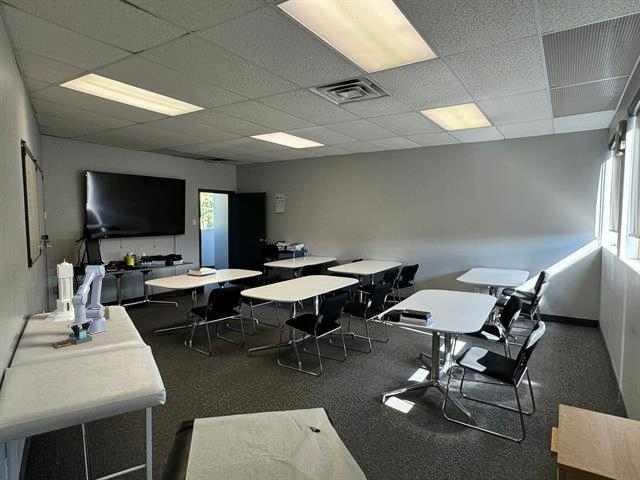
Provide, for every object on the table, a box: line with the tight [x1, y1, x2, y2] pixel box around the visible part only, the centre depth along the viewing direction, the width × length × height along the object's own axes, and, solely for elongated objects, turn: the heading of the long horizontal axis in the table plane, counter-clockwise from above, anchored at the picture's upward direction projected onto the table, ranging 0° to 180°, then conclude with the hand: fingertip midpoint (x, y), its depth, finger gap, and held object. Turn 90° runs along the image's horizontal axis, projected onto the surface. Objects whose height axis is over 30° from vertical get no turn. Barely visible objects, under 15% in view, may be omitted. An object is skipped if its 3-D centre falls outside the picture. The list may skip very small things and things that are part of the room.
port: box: [67, 331, 93, 345], centre depth 222 cm, size 8×13×4 cm, turn 53°
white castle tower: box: [44, 258, 75, 323], centre depth 273 cm, size 28×28×45 cm
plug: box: [77, 328, 86, 339], centre depth 221 cm, size 4×4×6 cm
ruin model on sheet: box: [103, 306, 111, 321], centre depth 264 cm, size 11×3×10 cm, turn 125°
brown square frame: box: [52, 340, 73, 350], centre depth 213 cm, size 7×7×1 cm
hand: (81, 336), depth 221 cm, fingers closed on plug, 4 cm apart
